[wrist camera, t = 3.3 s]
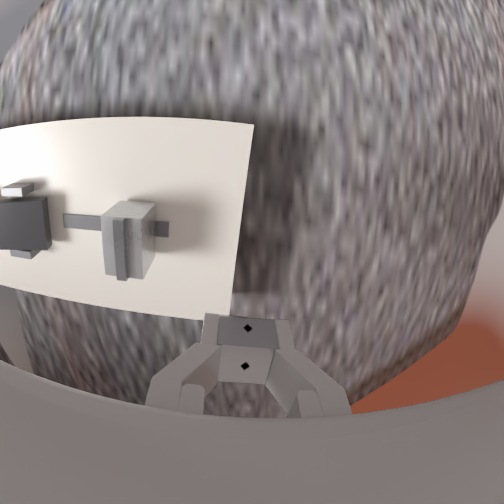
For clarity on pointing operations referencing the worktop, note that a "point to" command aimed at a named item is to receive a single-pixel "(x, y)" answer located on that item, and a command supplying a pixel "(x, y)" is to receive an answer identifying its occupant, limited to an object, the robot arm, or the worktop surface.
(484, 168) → the worktop surface
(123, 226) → the slider knob
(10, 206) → the rocker switch
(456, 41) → the worktop surface
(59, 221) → the control panel
